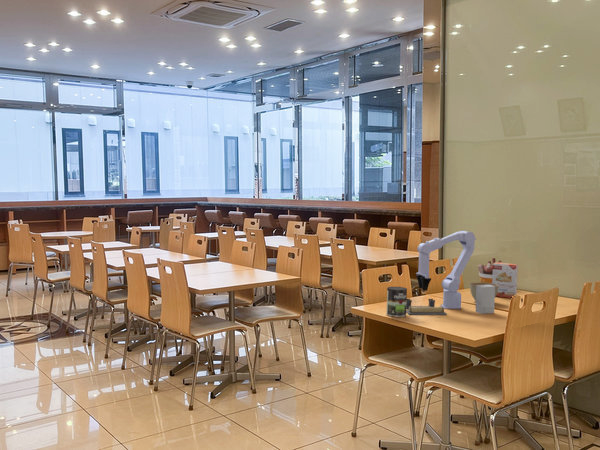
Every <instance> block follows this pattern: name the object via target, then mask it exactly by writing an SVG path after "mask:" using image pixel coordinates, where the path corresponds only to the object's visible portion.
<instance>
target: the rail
mask: <svg viewBox="0 0 600 450" xmlns="http://www.w3.org/2000/svg"><path fill="white" fill-rule="evenodd" d="M411 306H412V305H411ZM411 306H409V309H408V310H409V312H442V313H444V312H445V308H444V307H442V306H434V307H411Z"/></svg>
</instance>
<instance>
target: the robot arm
mask: <svg viewBox="0 0 600 450" xmlns="http://www.w3.org/2000/svg"><path fill="white" fill-rule="evenodd" d="M475 235H476V234H474V232H472V231H468V230H467V231H466V230H459V231H456V232H454V233H451V234H448V235H447V236H444V237H441V238H439V237H434V238H433V239H431V240H426V241H425V243H424V242H422V243H419V245H418V246H417V252H418V272H416V273H415V274H416V275H415V277H416V279H417V283H418V284H417V285H418V288H419V289H422V291H423V292H424V291H426V292H427V291H428V289H429V285H430V282H431V280H432V278H430V255H431V253H432V252H435V251H436V250H439V249H442V248H443V246H444V245H445V244H449V243H451V242H455V241H459V243H460V244H461V246H462V248H463V249H462V251H461V253H460V255H459V257H458V259H457V261H456V262H455V264H454V266H453V268H452V270H451V271H450V273H449V274H447V276H446V277H445V278H444V279H443V280H442V282H441V287H442V288H443V290H442V291H443V294H442V295H443V297H442V304H440V307H444V309H447V310H448V309H454V310H457V309H460V310H461V309H462V293H461V292H460V291H458V290H459V289H460V284H461V276H462V274H463V272H464V271H465V268H466V266H467V264H468V263H469V261H470V258H471V257H472V255H473V253H474V251H475V242H476V240H477V238H476V236H475Z"/></svg>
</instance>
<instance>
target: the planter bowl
mask: <svg viewBox="0 0 600 450" xmlns="http://www.w3.org/2000/svg"><path fill="white" fill-rule="evenodd" d="M476 285H492V286H495V298H496V297H497V296H496V295H497V293H498V287H499V285H497V284H492V283H481V282H471V283H469V288H470V294H471V296H472V298H473V300H474V303H476Z"/></svg>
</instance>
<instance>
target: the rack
mask: <svg viewBox="0 0 600 450" xmlns="http://www.w3.org/2000/svg"><path fill="white" fill-rule="evenodd" d="M412 302H413V301H412V299H411V298H407V300H406V310H409V306H411V307H435V303H436V300H435V299H433V298H428V306H427V305H412Z"/></svg>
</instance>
